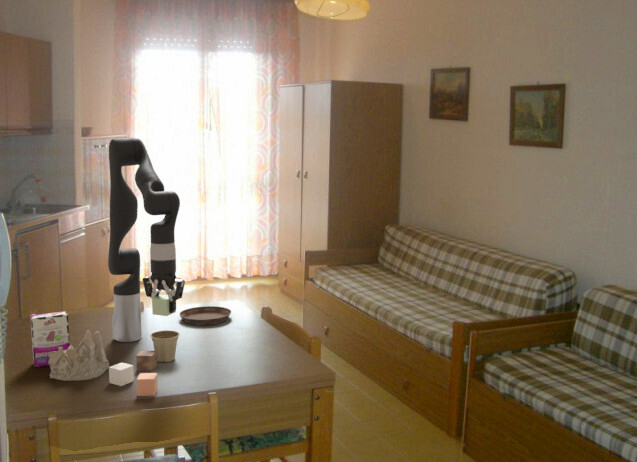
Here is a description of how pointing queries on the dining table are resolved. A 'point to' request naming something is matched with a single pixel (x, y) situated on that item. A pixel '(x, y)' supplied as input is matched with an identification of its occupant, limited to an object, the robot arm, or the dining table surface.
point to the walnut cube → (146, 360)
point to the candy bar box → (48, 336)
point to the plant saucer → (205, 315)
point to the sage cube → (161, 305)
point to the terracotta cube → (147, 384)
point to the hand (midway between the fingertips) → (164, 311)
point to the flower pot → (165, 344)
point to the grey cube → (121, 374)
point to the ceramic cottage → (80, 360)
